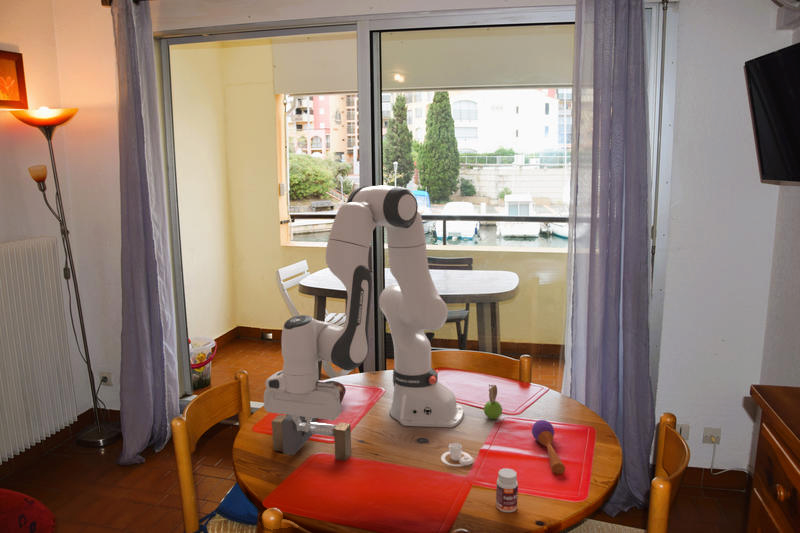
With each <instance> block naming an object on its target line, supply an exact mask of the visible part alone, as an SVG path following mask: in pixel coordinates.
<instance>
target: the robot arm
mask: <svg viewBox="0 0 800 533" xmlns="http://www.w3.org/2000/svg"><path fill="white" fill-rule="evenodd" d="M418 206H419V205H418V201H417V198H416V196H415V194H414V192H413V191H411V189H408V188H406V187H403V186H393V185H386V184H383V185H382V184H381V185H371V186H368V185H365V186H360V187H357V188H355V189H354V190H352V192H351V193H350V194H349V196H348V197H347V201H346V203H344V204H342V205H341V206H340V207H339V208H338V210H337V212H336V215H335V217H334V220H333V222H332V226H331V229H330V231H329V236H328V241H327V244H326V248H325V263H326V266H327V268H328V269H329V271H330V272H331V273H332V275H334V276H335V277H336V278H337V279H338V280H339V281H340V282H341V283H342V284H343V286H344V287H345V290H346V294H347V302H346V303H347V304H346V309H345V310H346V313H345V320H344V326H342V325H341V326H340V325H338V324H336V323H332V322H328V321H323V320H317V319H315V318H313V316H310V315H307V314H304V315H303V314H301V315H295V316H293V317H291V318H288V320H286V321H285V322H284V324H283V327H282V331H281V355H282V359H283V366H282V370H279V371H277V372H274V373H273V374H272V375H270V376H269V377H268V378H267V379H266V380H265V381H264V384H265V390H264V391H263V393H264V394H263V408H264V409H265V411H266V412H267V413H272V414H278V415H286V414H287V415H292V419H293V421H294V422H295V424H296V425H297V431H302V432H308V431H309V430H310V423H311V421H312V419H313V418H316V419H320V420H328V421H335V420H336V419H338V418H339V416H340V415H341V412H342V406H341V404H342V403H341V404H340V399H339V398H340V390H339V388H338V387H337V386H335V385H334V384H333V383H324V382H325V381H319V378H320V377H319V375H320V374H319V362H321V361H324V362H328V363H330V364H333V365H334V366H336V367H338V368H340V369H342V370H344V371H347V372H348V371H349V372H350V371H354V370H356V369H357V368H359V367H360V366H361V365H362V364H363V363H364V362H365V361H366V359H367V357H368V354H369V351H370V342H369V341H370V340H369V325H370V324H369V323H370V322H369V321H370V312H371V311H370V310H371V302H372V292H373V291H372V289H373V288H372V287H373V278H372V276H373V275H372V273H371V271H370V269H369V252H370V247H371V242H372V237H373V232H374V230H375V229H376V227H384V228H385V229H386V237H387V238H386V239H387V241H386V242H387V249H388V250H387V251H388V264H389V271H390V273H391V275H392V276H393V277H394V279H395V281H396V283H397V284H395V285H394V284H392V285H388V286H387V287H385V288H383V290H382V292H381V293H380V294H379V300H378V305H379V310H380V311H381V312H382V313H383V315H384V317H385V319H386V321H387V324H388V327H389V331H390V334H391V338H392V343H393V349H394V350H393V353H394V354H393V356H394V357H393V358H394V368H393V369H392V370H393V371H392V383H393V397H392V402H391V407H390V409H389V414H390V416H391V417H392V418H394V419H395V420H396V421H398V422H399V423H400V424H401V426H403V427H430V428H431V427H433V428H435V427H436V428H454V427H455V426H457V425H460V423H461V422H462V420H463V417H464V416H465V415H464V414H465V413H464V411H465V410H464V407H463V406H462V405H460V404H457V400H456V399H457V398H456V396H455V394H454V392H453V391H452V390H451V389H450V388H448V387H447V386H445V385H444V384H443V383H442V382H440V381H439V380H438V374H439V370H438V369H436V370H434V368H432V346H431V342H430V340H429V338H428V337H427V335H426V334H425V331H427V332H429V331H430V332H434V331H435V332H436V331H438V330H439V329H441V328H442V327H443V326H444V325H445V324H446V321H447V319H448V314H449V309H448V306H447V303H446V302H445V301H444V300H443V298H442V297H441V296H440V293H439V292H438V290H437V288H436V286H435V283H434V281H433V278H432V276H431V271H430V269H429V268H430V267H429V261H428V254H427V253H428V251H427V241H426V233H425V232H426V231H425V227H424V223H423V218H422V214H421V212H420V210H419V207H418ZM299 416H302V417H305V420H307V422H306V423H303V422H302V421H301V419H300V417H299Z"/></svg>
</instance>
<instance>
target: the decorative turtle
mask: <svg viewBox="0 0 800 533" xmlns="http://www.w3.org/2000/svg"><path fill="white" fill-rule="evenodd" d="M323 382H324V383H333V384H334V385H335V386H337V387H338V388H339V390H340V398H339V399H340V404H342V402H343V400H344V397H345V394H346V390H347V389H346V387H345V386H344V384H343V383H341V382H339V381H335V380H328V381H323Z"/></svg>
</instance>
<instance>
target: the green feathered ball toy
mask: <svg viewBox="0 0 800 533" xmlns="http://www.w3.org/2000/svg"><path fill="white" fill-rule="evenodd" d="M488 387H489V389H488V391H489V392H488V399H489V400H488V401H487V402H486V403H485V404H484V406H483V412H484V415H485V417H487V418H488V419H491V420H496V419H498V418H500V417H501V415H502V413H503V407H502V405H501V403H500V402H499V401H497V400H496V399H497V395H498V386H497V385H496V384H488Z"/></svg>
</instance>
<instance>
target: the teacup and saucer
mask: <svg viewBox="0 0 800 533" xmlns="http://www.w3.org/2000/svg"><path fill="white" fill-rule="evenodd" d="M447 447H448V451H446V452H443V454H441V456H440V460H441V462H442V463H443V464H445V465H447V466H450V467H455V468H456V467H464V466H470V465H471V464H473V462H474V458H473V457H472V456H471V455H470V454H469V453H467V452H465V451H463V445H462V444H461V443H458V442H452V443H448V446H447ZM448 455H450V458H451V460H452V461H456V462H457V461H458V462H459V463H457V464H456V463H451V462H448V461H447V459H446V456H448ZM462 455H464V456H462ZM461 456H462V457H461Z"/></svg>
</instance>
